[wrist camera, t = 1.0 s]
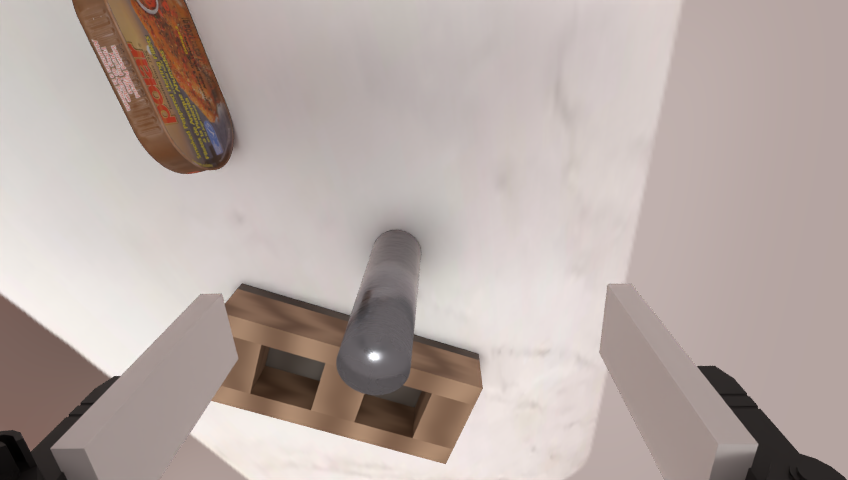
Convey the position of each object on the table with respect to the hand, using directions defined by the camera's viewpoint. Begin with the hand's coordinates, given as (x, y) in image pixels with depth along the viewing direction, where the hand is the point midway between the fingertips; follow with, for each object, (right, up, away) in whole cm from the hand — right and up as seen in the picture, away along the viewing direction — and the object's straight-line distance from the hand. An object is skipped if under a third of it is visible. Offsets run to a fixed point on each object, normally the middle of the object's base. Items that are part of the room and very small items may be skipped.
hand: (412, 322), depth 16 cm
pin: (-2, +2, +26) cm, 26 cm away
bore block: (-7, -9, +31) cm, 33 cm away
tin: (-18, +17, +20) cm, 32 cm away
